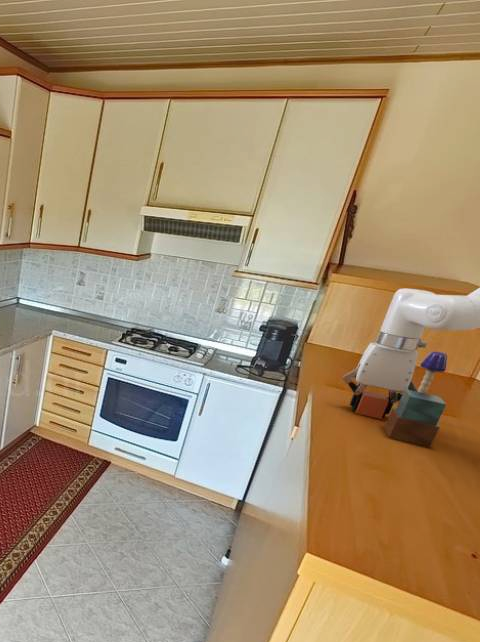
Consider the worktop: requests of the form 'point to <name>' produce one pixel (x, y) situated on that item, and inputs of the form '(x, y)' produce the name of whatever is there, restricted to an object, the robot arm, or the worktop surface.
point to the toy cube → (372, 404)
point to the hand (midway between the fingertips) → (367, 411)
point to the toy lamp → (432, 368)
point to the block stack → (415, 418)
